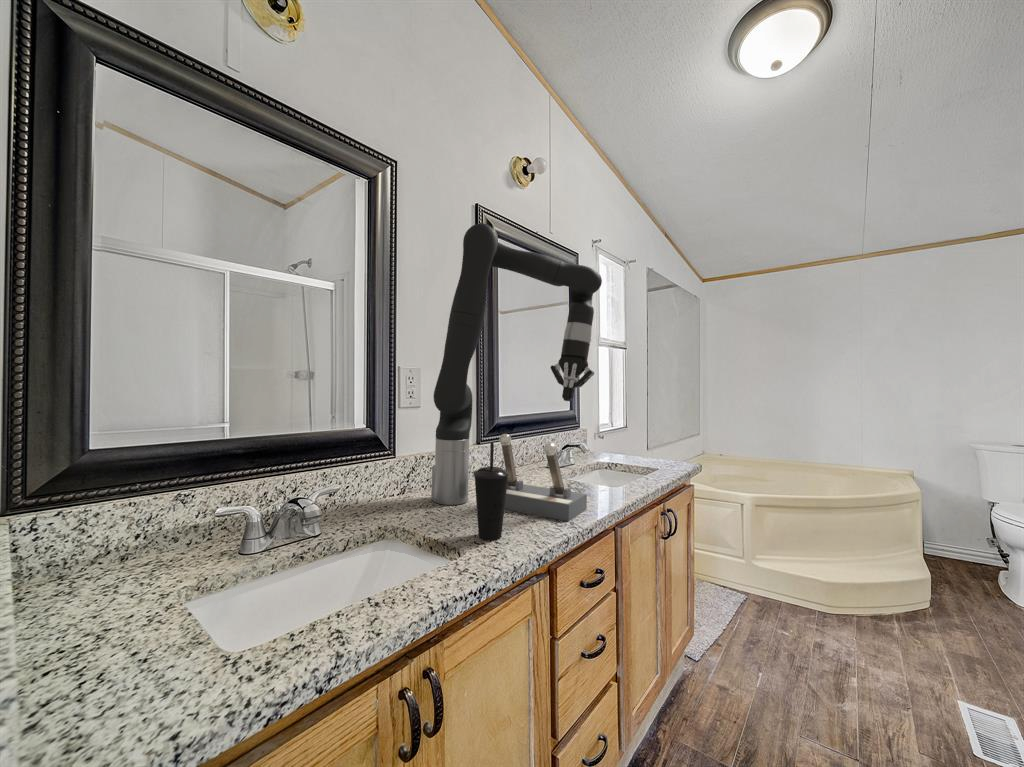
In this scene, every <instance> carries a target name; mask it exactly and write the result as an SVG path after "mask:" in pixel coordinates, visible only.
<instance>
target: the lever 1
mask: <svg viewBox="0 0 1024 767" xmlns="http://www.w3.org/2000/svg"><path fill="white" fill-rule="evenodd" d="M499 436H500V437H499V439H498V440H499V443H500V445H501V450H502V456H503V461H504V466H505V471H508V472H509V476H508V485H509V486H513V487H515V483H516V482H517V481H518V477H517V472H516V467H515V464H516V463H515V460H514V453H513V448H512V437H511V435H510V434H508V433H503V434H501V435H499Z"/></svg>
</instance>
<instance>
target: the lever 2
mask: <svg viewBox="0 0 1024 767" xmlns="http://www.w3.org/2000/svg"><path fill="white" fill-rule="evenodd" d="M557 450H558V448H557V446H556V444H555V443H553V442H547V443H546V444H545V445H544V446H543V453H544V455H545V457H546V459H547V460H546V461H547V464H548V468H549V473H550V477H551V480H552V486H554V490H555V494H559V495H563V489H565V486H564V482H563V476H562V472H561V467H560V463H559V459H558V454H557Z"/></svg>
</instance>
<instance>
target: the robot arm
mask: <svg viewBox="0 0 1024 767" xmlns="http://www.w3.org/2000/svg"><path fill="white" fill-rule="evenodd" d="M462 241H463V242H462V248H463V249H462V262H461V271H460V276H459V279H458V283H457V286H456V288H455V292H454V296H453V300H452V303H451V309H450V313H449V318H448V323H447V332H446V337H445V344H444V350H443V358H442V361H441V362H442V363H441V368H440V370H439V374H438V377H437V380H436V383H435V387H434V392H433V402H434V406H435V407H436V408H437V410H438V411H439V419H438V420H439V421H438V424H437V426H436V428H435V447H434V448H435V450H434V451H435V452H434V453H435V454H434V457H435V458H434V464H433V465H432V466H431V492H430V493H431V496H430V497H431V499H430V500H431V501H433V502H435V503H436V504H440V505H443V506H444V505H445V506H453V505H454V506H456V505H463V504H465V503H467V502H468V501H469V473H470V472H469V471H470V470H469V469H470V467H469V466H470V465H469V463H470V433H471V428H472V422H473V421H472V420H473V392H472V390H471V388H470V386H469V385H468V374H469V368H470V364H471V360H472V359H473V356H474V354H475V351H476V349H477V346H478V344H479V342H480V339H481V334H482V331H483V325H484V319H485V314H486V307H487V306H486V305H487V294H488V280H489V275H490V272H491V268H492V267H493V268H498V269H503V270H507V271H510V272H514V273H517V274H520V275H524V276H526V277H529V278H532V279H534V280H537V281H540V282H543V283H545V284H549V285H551V286H554V287H568V288H570V289H569V310H568V316H567V320H566V326H565V329H564V335H563V339H562V341H563V342H562V346H561V354H560V355H561V356H560V358H559V360H558V363H556V364H554V365H551V366H550V370H551V373H553V376H554V378H555V380H556V382H557V383H558V384H559V385H561V386H562V387H563V390H562V395H561V396H562V399H563V401H565V402H572V400H573V399H574V395H575V390H576V389H577V388H581V387H583V386H584V385H585V384H586V383H587V382H588V381H589V380H590V379H591V378H592V377H593V376H594V375H595V372H594V371H593V370H592V369H590V367H589V363H588V359H589V351H590V346H591V342H592V328H593V320H594V315H595V312H594V311H595V309H594V306H593V305H592V304H593V295H594V293H596V292H597V291H598V290H600V288H601V286H602V283H603V280H602V275H601V274H600V273H599V271H597V270H596V269H594V268H593V267H590V266H587V265H583V264H577V263H571V262H565V261H564V260H560V259H557V258H556V257H552V256H549V255H545V254H542V253H538V252H532V251H526V250H525V251H524V250H521V249H520V250H519V249H515V248H512V247H510V246H507V245H505V244H502V243H501V242H499V241H498V237H497V234H496V232H495V230H494V229H493V228H492V227H491V226H490V225H489V224H486V223H484V222H483V223H482V222H481V223H480V222H479V223H475V224H473V225H472V226H470V227H469V228H468V229H467V230H466V231H465V234H464V235H463V240H462ZM560 371H562V373H563V376H562V374H561V372H560ZM582 374H583V375H582ZM581 375H582V376H581ZM580 376H581V377H580ZM579 377H580V378H579Z"/></svg>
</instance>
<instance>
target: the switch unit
mask: <svg viewBox="0 0 1024 767" xmlns="http://www.w3.org/2000/svg"><path fill="white" fill-rule="evenodd" d="M587 498H588V494H587V493H581V492H575V491H572V489H571V487H564V489H563V495H559V494H555V490H554V486H553V485H552V486H549V487H542V486H537V485H532V484H531V485H530V484H524V481H523V480H517V482H516V483H515V487H513V486H509V485H508V481H507V490H506V499H505V508H504V510H507V509H508V510H509V511H513V512H519V513H522V514H523V513H524V514H528V515H534V516H538V517H544V518H549V519H554V520H558V519H559V521H563V520H565V521H564V522H568V521H569V522H570V521H572V520H573V519H574V517H575V518H576V517H577V515H578V516H580V513H581V514H582V513H584V512H585V511H587V510H586V509H588V508H587V507H588V506H587V502H588V499H587ZM583 511H584V512H583ZM571 519H572V520H571Z"/></svg>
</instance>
